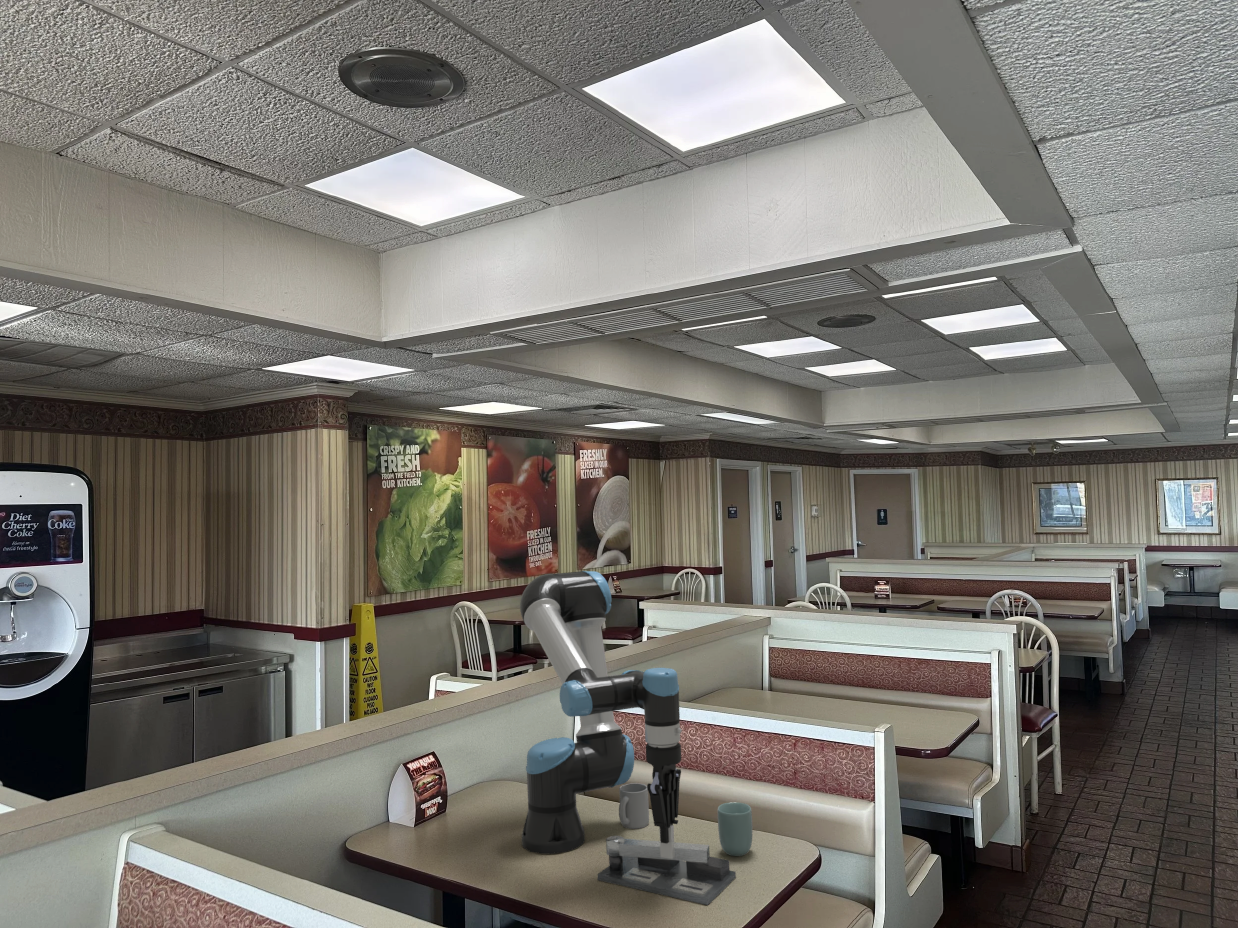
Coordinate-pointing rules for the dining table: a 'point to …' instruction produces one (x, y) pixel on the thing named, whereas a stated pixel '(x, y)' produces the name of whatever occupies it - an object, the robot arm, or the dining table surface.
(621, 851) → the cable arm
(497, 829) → the dining table surface
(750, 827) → the cup
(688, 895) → the panel
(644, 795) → the cup
